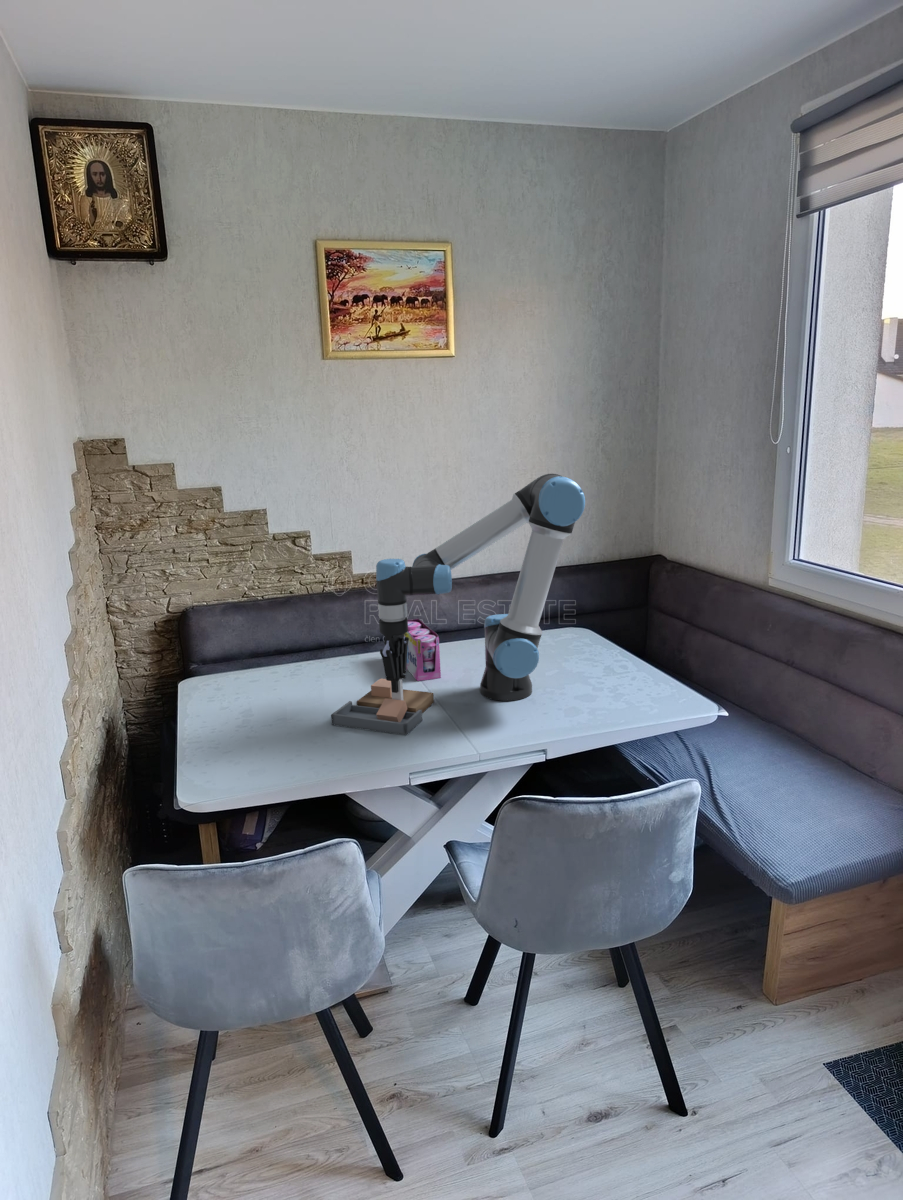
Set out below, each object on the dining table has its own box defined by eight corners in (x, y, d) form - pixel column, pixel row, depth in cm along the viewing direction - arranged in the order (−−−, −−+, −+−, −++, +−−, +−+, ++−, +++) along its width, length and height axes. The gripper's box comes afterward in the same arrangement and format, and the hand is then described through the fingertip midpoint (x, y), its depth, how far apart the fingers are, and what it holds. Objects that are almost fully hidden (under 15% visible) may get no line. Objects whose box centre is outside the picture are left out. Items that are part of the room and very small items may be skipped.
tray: (422, 720, 206) (421, 710, 205) (406, 735, 197) (405, 724, 196) (350, 711, 214) (349, 701, 213) (331, 725, 205) (331, 714, 204)
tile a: (407, 708, 207) (405, 700, 205) (399, 724, 202) (396, 717, 201) (387, 706, 209) (385, 698, 207) (378, 722, 205) (376, 714, 203)
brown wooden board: (433, 702, 218) (433, 692, 217) (416, 718, 207) (415, 708, 206) (377, 695, 225) (376, 686, 224) (357, 711, 214) (356, 701, 213)
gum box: (443, 679, 236) (441, 637, 233) (418, 683, 234) (416, 640, 231) (421, 656, 258) (419, 618, 255) (398, 660, 256) (396, 620, 253)
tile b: (399, 690, 220) (399, 680, 219) (390, 697, 215) (390, 687, 214) (381, 688, 222) (380, 678, 222) (371, 695, 217) (370, 685, 216)
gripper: (391, 610, 209) (395, 692, 215) (368, 623, 197) (374, 709, 203) (416, 612, 206) (420, 695, 212) (395, 625, 195) (399, 712, 200)
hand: (397, 702), depth 208 cm, fingers closed
